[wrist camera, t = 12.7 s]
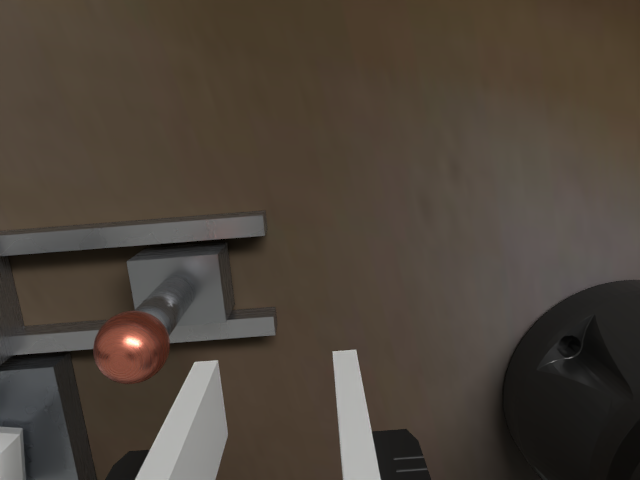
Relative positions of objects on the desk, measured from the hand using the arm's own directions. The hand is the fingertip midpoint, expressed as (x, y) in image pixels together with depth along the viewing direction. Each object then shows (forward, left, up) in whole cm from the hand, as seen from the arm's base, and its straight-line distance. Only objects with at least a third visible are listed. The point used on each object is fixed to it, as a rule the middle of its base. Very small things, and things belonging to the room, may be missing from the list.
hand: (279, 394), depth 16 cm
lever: (+7, 0, -14) cm, 16 cm away
